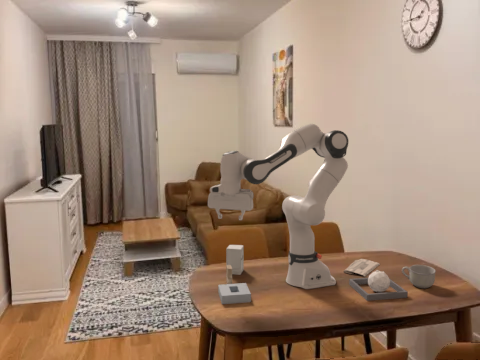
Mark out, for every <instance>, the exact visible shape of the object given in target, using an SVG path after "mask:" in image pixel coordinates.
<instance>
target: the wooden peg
mask: <svg viewBox="0 0 480 360" xmlns="http://www.w3.org/2000/svg"><path fill="white" fill-rule="evenodd" d="M225 267H226V270H225V273H226V274H225V276H226V277H225V278H226V280H225V281H226V282H225V283H226V284H233V274H232V267H231V265H226V264H225Z"/></svg>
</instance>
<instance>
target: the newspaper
mask: <svg viewBox="0 0 480 360" xmlns="http://www.w3.org/2000/svg"><path fill="white" fill-rule="evenodd" d="M380 265H381V263H379V262H376V261H373V260H370V259H366V258H365V259H364V258H360V259H355V260H354V261H353V262H352V263H350V264H349V265H348V267H346V268H345V269H344V270H343V273H345V274H350V275H353V274H354V273H355V274H358V275H361V276H363V278H366V277H367V276H369V275H370V273H372V272H374V270H375V269H376V268H378V267H379V266H380Z"/></svg>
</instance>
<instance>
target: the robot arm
mask: <svg viewBox="0 0 480 360" xmlns="http://www.w3.org/2000/svg"><path fill="white" fill-rule="evenodd" d="M348 146H349V137H348V135H347V134H346V133H345V132H344V131H342V130H331V131H328V132H323V131H322V130H321V128H320V127H319V126H318V125H316V124H315V123H309V124H305V125H302V126H300V127H298V128H295V129H294V130H292V131H290V132H288V133H287V134H286V135H284V136H283V137H282V139H281V140H280V147H279V148H278V150H277V151H275V152H273V153H272V154H270V155H268V156H267V157H265V158H263V159H255V158H251V157H249V156H246V155H244V154H243V153H241V152H240V151H238V150H229V151H226V152H224V153H223V154H222V155H221V160H220V170H219V171H220V177H221V178H220V182H219V184H216V185H213V186H211V187H210V188H209V194H208V196H207V197H208V198H207V207H208V209H215V212H216V215H217V218H218V219H219V220H220V219H221V220H222V219H223V214H222V213H221V212H220V210H232V211H233V210H235V211H240V213H241V214H239V215H238V221H243V219H244V215H245V213H246V211H248V212H249V211H250V212H251V211H252V210H253V209H254V200H253V199H254V194H255V193H254V192H253V190H251V189H249V188H241V185H242V182H241V181H242V180H246V181H247V182H249V183H250V184H253V185H261V184H262V183H264V182H265V181H266V180H267V179H268V178H269V176H270V175H271V174H272V173H273V172H274V171H276V170H277V169H279V168H280V167H282V166H283V165H285V164H287V162H289V161H291V160H293V159H294V158H296V157H298V156H301V155H303V154H304V153H307V152H308V151H309V150H313V152H314V153H315V154H316V155H317V156H319V157H320V158H324V159H323V160H324V161H323V162H322V165H320V167H318V169H317V170H316V172H315V173H314V174H313V175H312V177H311V178H310V179H309V181H308V183H307V185H308V186H307V187H308V189H307V191H306V194H305V195H304V196H301V195H298V194H297V195H289V196H287V197H285V198H284V200H283V201H282V204H281V205H282V206H281V208H282V209H281V210H282V211H283V214H284V215H285V219H286V222H287V227H288V232H289V251H288V269H287V275H286V278H285V282H286V283H287V284H288V285H290V286H294V287H298V288H302V289H305V290H311V289H317V288H324V287H329V286H335V285H336V284H337V281H336V279H335V277H334V276H333V275H331V271H330V268H329V267H328V265H326V264H325V263H324V262H323V261H322V260H321V259H322V258H323V256H322V255H321V254H320V253H318V251H315V237H316V236H315V233H314V232H313V229H312V228H311V226H318V225H320V224H322V222H323V221H324V220H325V216H326V211H325V209H326V204H327V201H328V199H329V197H330V196H331V194H332V193H333V192H334V190H335V188H336V187H337V186H338V185H339V183H340V182H341V180H342V179H343V178H344V175H345V174H346V172H347V170H348V168H349V167H348V166H349V165H348V161H347V160H346V158H345V156H346V155H347V149H348Z"/></svg>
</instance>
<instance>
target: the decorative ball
mask: <svg viewBox="0 0 480 360" xmlns="http://www.w3.org/2000/svg"><path fill="white" fill-rule="evenodd" d="M367 278H368V284H367V285H368V286H369V288H370V289H371V290H372V291H373V292H376V293H385V292H386V291H387V290H388V289H389V288H390V286H389V285H390V280H389V279H390V277H389V275H388V274H387V273H386V272H385V271H380V270H378V269H376V270H375V271H372V272H371V274H368V277H367Z"/></svg>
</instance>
